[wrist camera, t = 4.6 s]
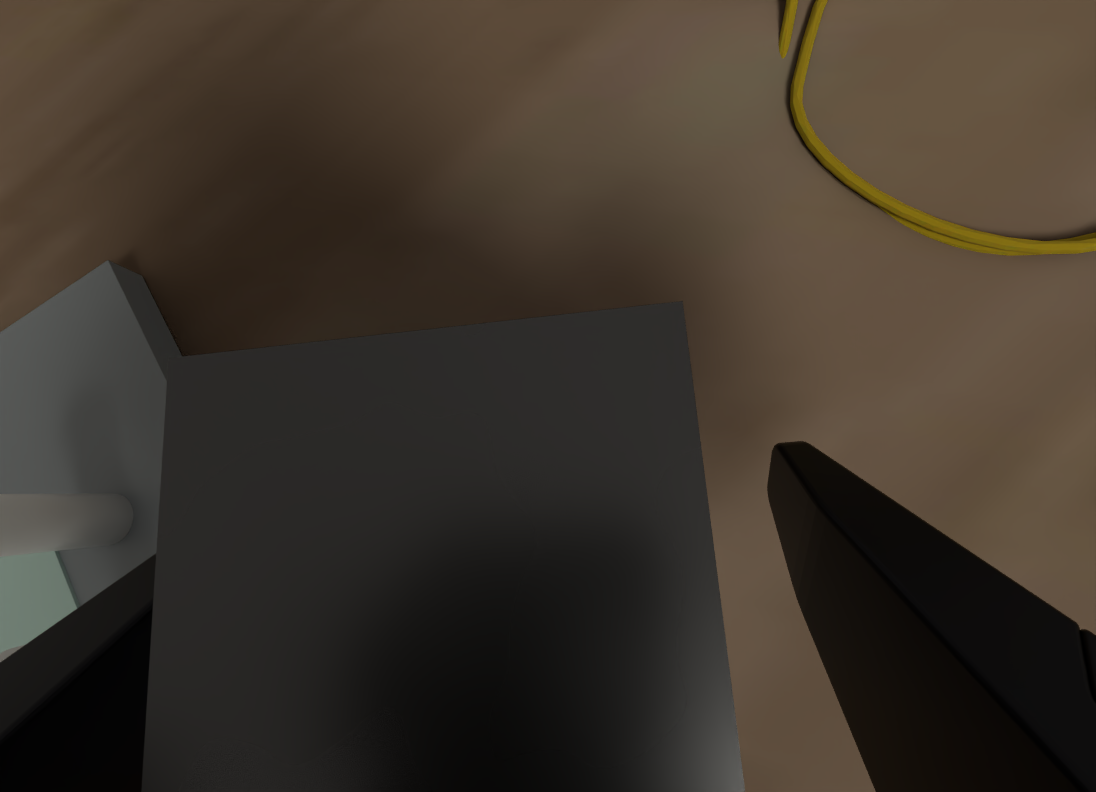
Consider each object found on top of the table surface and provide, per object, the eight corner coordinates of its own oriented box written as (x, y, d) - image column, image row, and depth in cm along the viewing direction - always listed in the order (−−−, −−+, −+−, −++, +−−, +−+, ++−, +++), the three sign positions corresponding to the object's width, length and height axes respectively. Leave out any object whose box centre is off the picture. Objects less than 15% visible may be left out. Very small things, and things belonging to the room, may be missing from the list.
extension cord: (1042, -215, 17) (1097, -305, 15) (1285, 211, 14) (1393, 166, 12) (675, -97, 18) (683, -168, 16) (827, 327, 15) (859, 302, 13)
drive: (650, 635, 14) (794, 1184, 3) (497, 642, 14) (119, 1144, 3) (630, 441, 14) (682, 302, 4) (488, 453, 15) (168, 358, 4)
